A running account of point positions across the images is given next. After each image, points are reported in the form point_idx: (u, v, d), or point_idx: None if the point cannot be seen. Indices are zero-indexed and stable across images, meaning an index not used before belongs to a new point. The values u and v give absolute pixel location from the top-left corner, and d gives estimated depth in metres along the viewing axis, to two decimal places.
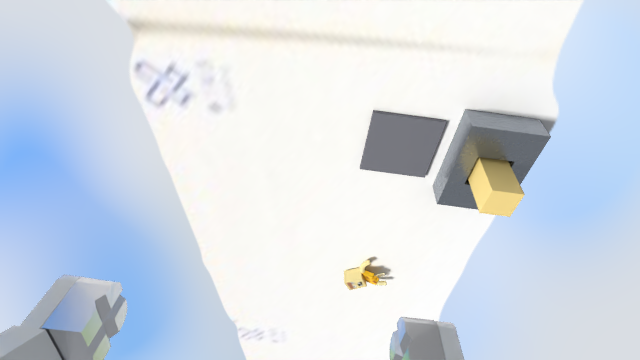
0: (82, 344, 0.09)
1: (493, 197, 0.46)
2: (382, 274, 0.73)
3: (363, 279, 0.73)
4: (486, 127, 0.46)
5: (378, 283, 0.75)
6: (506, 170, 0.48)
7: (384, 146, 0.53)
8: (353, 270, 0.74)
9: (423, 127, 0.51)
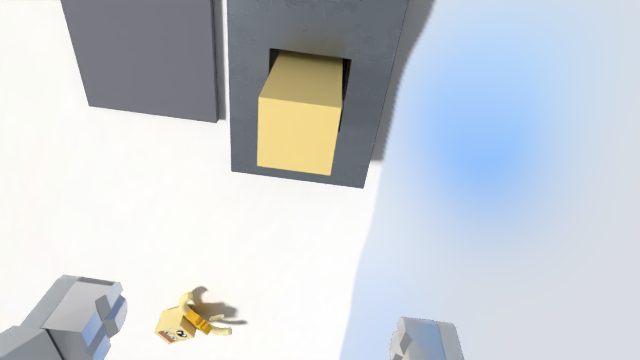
0: (82, 344, 0.09)
1: (269, 119, 0.18)
2: (219, 317, 0.44)
3: (187, 325, 0.43)
4: None
5: (217, 332, 0.45)
6: (325, 73, 0.21)
7: (110, 49, 0.26)
8: (174, 310, 0.45)
9: None
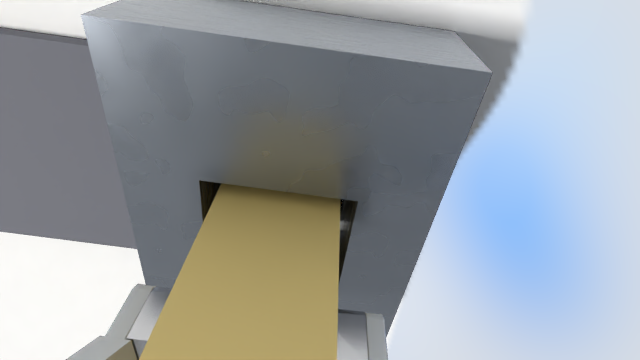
0: None
1: None
2: None
3: None
4: (161, 23, 0.09)
5: None
6: (306, 243, 0.11)
7: None
8: None
9: (25, 70, 0.13)
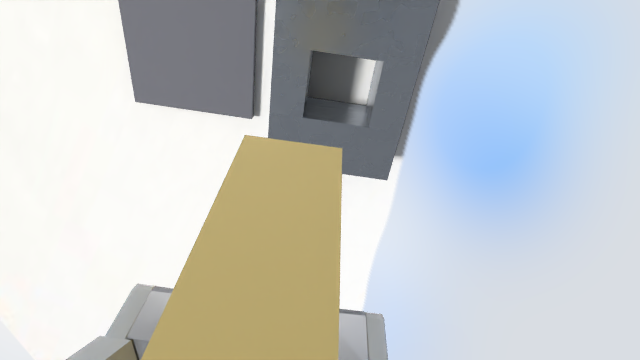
0: None
1: None
2: None
3: None
4: None
5: None
6: (307, 244, 0.11)
7: (160, 50, 0.29)
8: None
9: (216, 3, 0.27)
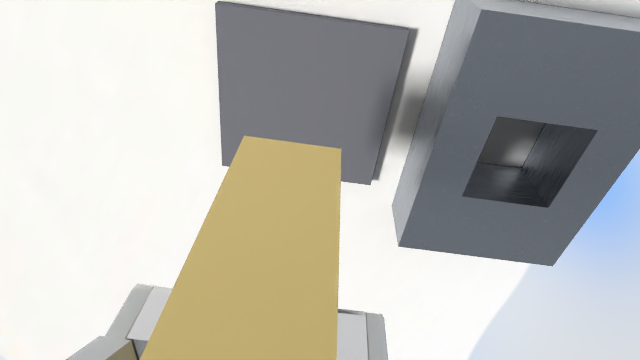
0: None
1: None
2: None
3: None
4: (523, 14, 0.15)
5: None
6: (305, 245, 0.11)
7: (264, 105, 0.22)
8: None
9: (351, 47, 0.20)
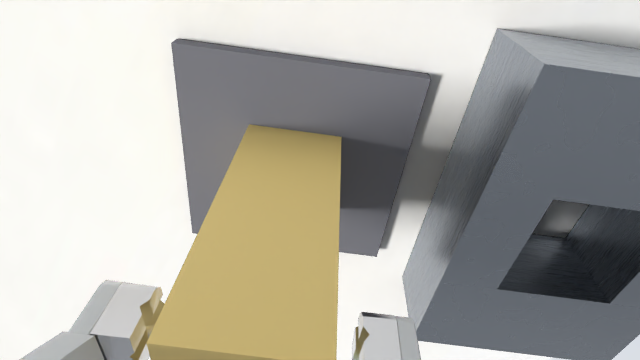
0: (129, 349, 0.09)
1: None
2: None
3: None
4: (604, 70, 0.11)
5: None
6: (308, 221, 0.11)
7: None
8: None
9: (354, 98, 0.15)
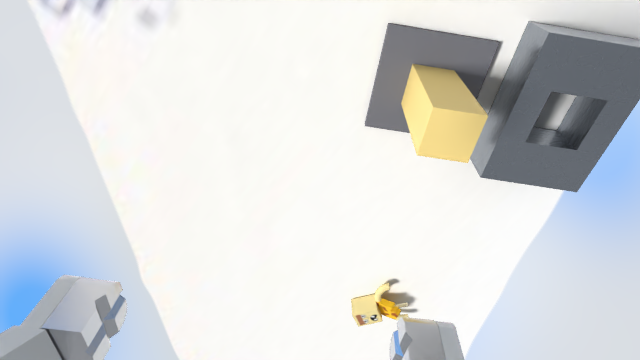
0: (82, 344, 0.09)
1: (436, 122, 0.27)
2: (404, 304, 0.53)
3: (378, 311, 0.53)
4: (570, 35, 0.29)
5: (397, 317, 0.54)
6: (459, 91, 0.30)
7: (403, 86, 0.36)
8: (363, 298, 0.54)
9: (463, 51, 0.34)
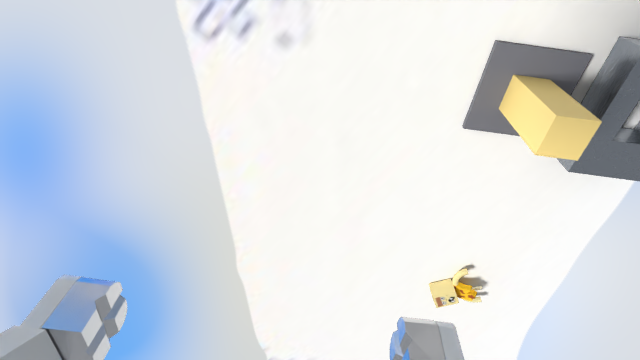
0: (83, 343, 0.09)
1: (556, 128, 0.32)
2: (479, 287, 0.59)
3: (456, 293, 0.59)
4: None
5: (471, 299, 0.60)
6: (566, 99, 0.35)
7: (502, 93, 0.41)
8: (441, 282, 0.60)
9: (560, 63, 0.39)
